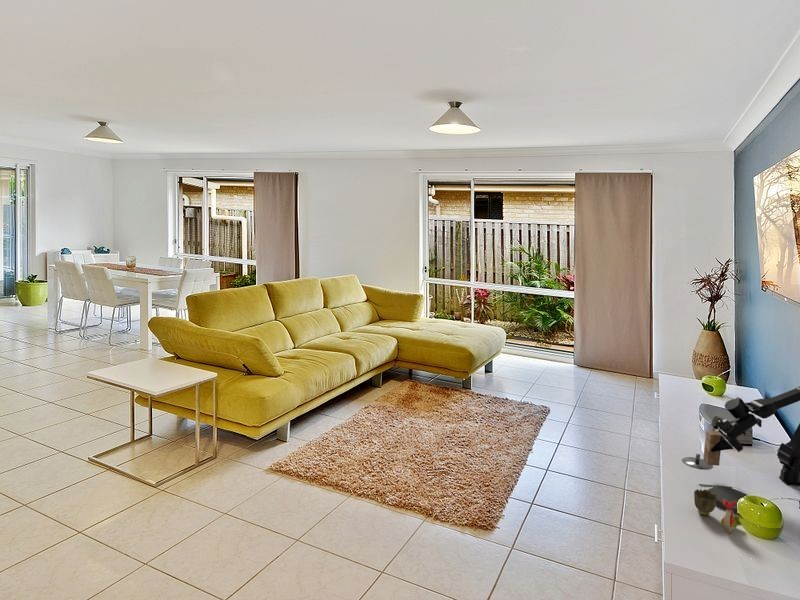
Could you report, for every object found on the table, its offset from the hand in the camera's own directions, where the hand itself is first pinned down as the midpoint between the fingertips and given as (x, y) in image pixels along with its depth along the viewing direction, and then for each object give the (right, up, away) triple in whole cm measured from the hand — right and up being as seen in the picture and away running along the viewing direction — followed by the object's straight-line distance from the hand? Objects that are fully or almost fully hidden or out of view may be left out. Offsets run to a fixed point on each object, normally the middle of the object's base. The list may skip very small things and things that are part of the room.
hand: (709, 448), depth 218 cm
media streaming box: (-1, -17, -16) cm, 23 cm away
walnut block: (+1, -6, +1) cm, 6 cm away
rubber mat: (+1, -14, 0) cm, 14 cm away
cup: (-16, -17, -24) cm, 34 cm away
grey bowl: (+3, -11, +15) cm, 19 cm away
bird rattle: (-13, -19, -34) cm, 41 cm away
